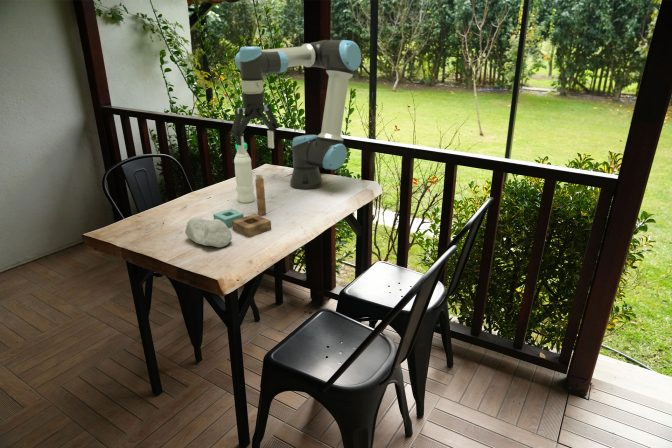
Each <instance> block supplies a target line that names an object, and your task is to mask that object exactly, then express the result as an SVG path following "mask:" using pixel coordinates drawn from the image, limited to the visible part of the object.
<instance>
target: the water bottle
mask: <svg viewBox="0 0 672 448" xmlns="http://www.w3.org/2000/svg"><path fill="white" fill-rule="evenodd" d="M234 145H235V150H236V154H235V156H234V160H233V163H234V174H235V175H234V176H235V182H236V192H237V196H236V197H237V201H238V203H241V204H248V203H252V202H254V201H255V194H254V183H253V181H254V179H253V168H252V158H251V157H250V154H249V153H248V151H247V150H248V144H247V142H244V152H245V154H239V151H238V145H237V144H236V143H235V144H234Z"/></svg>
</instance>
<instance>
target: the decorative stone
mask: <svg viewBox="0 0 672 448" xmlns="http://www.w3.org/2000/svg"><path fill="white" fill-rule="evenodd" d="M184 232H185V235H186V236H187V238H189V239H190V240H191V241H193V242H195V243H196V244H199V245H203V246H211V247H216V248H223V247H225V246H227V245H229V243H231V241H232V239H233V236H232V231H230V229H229V228H228V227H227V226H226V224H225V223H223V222H222V221H221V220H219V219H214V218H213V219H212V220H211V219H204V218H202V217H201V218H200V217H192V218H190V219H189V220H188V222H187V224H186V227H185V230H184Z"/></svg>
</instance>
